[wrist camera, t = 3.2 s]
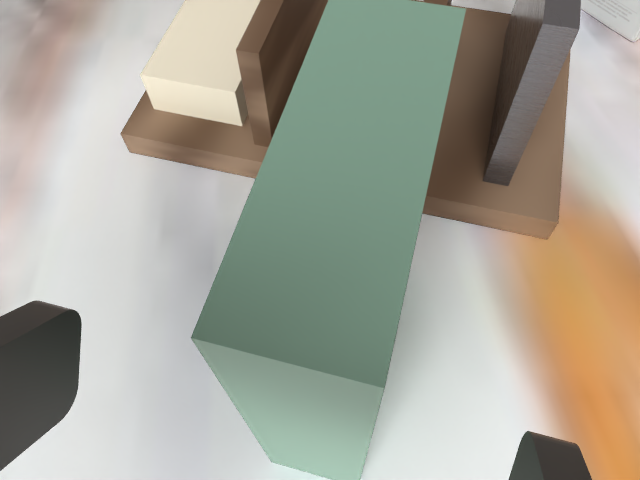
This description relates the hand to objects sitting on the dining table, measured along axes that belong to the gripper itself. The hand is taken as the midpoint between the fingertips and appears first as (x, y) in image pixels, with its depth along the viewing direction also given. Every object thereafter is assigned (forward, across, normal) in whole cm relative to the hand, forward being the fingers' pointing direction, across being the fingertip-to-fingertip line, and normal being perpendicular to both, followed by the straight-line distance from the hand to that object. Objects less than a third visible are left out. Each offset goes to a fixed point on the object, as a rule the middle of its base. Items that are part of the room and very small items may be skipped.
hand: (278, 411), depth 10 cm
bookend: (+23, -5, -6) cm, 24 cm away
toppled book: (+23, +11, -6) cm, 26 cm away
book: (+14, 0, +6) cm, 15 cm away
